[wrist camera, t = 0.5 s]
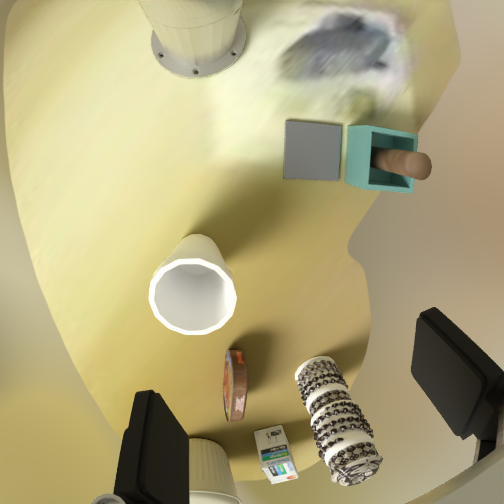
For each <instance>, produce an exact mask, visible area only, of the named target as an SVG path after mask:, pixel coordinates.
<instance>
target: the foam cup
mask: <svg viewBox="0 0 504 504" xmlns="http://www.w3.org/2000/svg"><path fill="white" fill-rule="evenodd" d="M236 300H237V295H236V289H235V285H234V281H233V277H232V273H231V271H230V270H229V269H228V268H227V266H226V264H225V262H224V260H223V257H222V255H221V253H220V251H219V249H218V247H217V245H216V244H215V243H214V242H213V240H212V239H211V238H209V237H207V236H205V235H202V234H191V235H189V236H187V237H185V238H183V239H182V240H181V241H180V242H179V244H178V245H177V246H176V247H175V249H174V250H173V251H172V252H171V254H170V255H169V256H168V257H167V258H165V259H164V260H163V261H162V263H161V264H160V266H159V267H158V268H157V270H156V271H155V273H154V275H153V277H152V280H151V282H150V290H149V303H150V305H151V307H152V310H153V312H154V315H155V317H156V318H158V319H159V320H160V321H161V322H162V323H163V324H164V325H165V326H166V327H167V328H169V329H171V330H174V331H177V332H179V333H182V334H185V335H205V334H207V333H209V332H212V331H214V330H216V329H219V328H221V327H222V326H223V325H224V324H225V323H226V322H227V320H228V319H229V318H230V317H231V316H232V315H233V312H234V308H235V304H236Z"/></svg>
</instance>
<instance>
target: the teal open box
mask: <svg viewBox="0 0 504 504" xmlns="http://www.w3.org/2000/svg"><path fill="white" fill-rule="evenodd" d="M417 144H418V135H416V134H412V133H407V132H402V131H397V130H392V129H387V128H381V127H375V126H369V125H358V126H348V135H347V154H346V170H345V183H348V184H350V185H353V186H356V187H358V188H361V189H366V190H380V191H393V192H404V193H413V189H414V180H415V179H414V178H411V177H407V176H403V175H400V174H396V173H392V172H388V171H384V170H380V169H376V168H372V167H370V154H371V147H382V148H390V149H398V150H406V151H413V152H417Z"/></svg>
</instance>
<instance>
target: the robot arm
mask: <svg viewBox="0 0 504 504" xmlns="http://www.w3.org/2000/svg"><path fill="white" fill-rule="evenodd" d="M137 1H138V3H139V4H140V6H141V8H142V10H143V12H144V13H145V15H146V17H147V19H148V21H149V22H150V24H151V26H152V28H153V31H152V36H151V47H152V51H153V54H154V56H155V58H156V60H157V61H158V62H159V64H160V65H161V66H162V67H164V68H165V69H166V70H167V71H169V72H171V73H172V74H175V75H177V76H180V77H185V78H205V77H210V76H213V75H216V74H218V73H220V72H222V71H224V70H226V69H227V68H228V67H230V66H231V65H232V64H233V63H234V62H235V61H236V60H237V59H238V57H239V56H240V54H241V53H242V50H243V48H244V45H245V41H246V29H245V25H244V22H243V20H242V18H241V17H240V11H241V7H242V3H243V0H137ZM232 53H235V56H232ZM161 55H163V57H162V58H160V56H161ZM196 71H197V72H198V74H194V73H195V72H196ZM411 373H412V375H413V377H414V379H415V380H416V381H417V382H418V384H419V385H420V387H421V388H422V389H423V391H424V392H425V393H426V395H427V396H428V398H429V399H430V400H431V402H432V403H433V404H434V406H435V407H436V409H437V410H438V411H439V413H440V414H441V415H442V417H443V418H444V420H445V421H446V423H447V424H448V426H449V427H450V428H451V430H452V431H453V433H454V434H455V435H456V436H460V437H461V438H462V440H464V439H466V438H467V437H469V436H470V435H472V434H474V435H475V436H476V438H477V443H476V449H475V456H474V461H473V466H471V467H469V468H468V469H466V470H465V471H463V472H462V473H460V474H459V475H457V476H455V477H454V478H452V479H450V480H449V481H447V482H445V483H444V484H442V485H440V486H439V487H437V488H435V489H433V490H431V491H430V492H428V493H426V494H424V495H422V496H420V497H418V498H416V499H414V500H412V501H410V502H408V503H406V504H504V371H503V370H502V369H501V368H500V367H499V366H498V365H497V364H496V363H495V362H494V361H493V360H492V359H491V358H490V357H489V356H488V355H487V354H486V353H485V352H484V351H483V350H482V349H481V348H479V346H478V345H477V344H475V343H474V342H473V341H472V340H471V339H470V338H469V337H468V336H467V335H466V334H465V333H464V332H463V331H462V330H460V329H459V328H458V327H457V326H456V325H455V324H454V323H453V322H452V321H451V320H450V319H448V318H447V317H446V316H445V315H444V314H443V313H442V312H441V311H440V310H439V309H437V308H436V307H432V308H430V309H428V310H426V311H423V312H421V313H420V316H419V318H418V319H417V322H416V332H415V342H414V350H413V357H412V365H411ZM92 504H190V492H189V438H188V435H187V433H186V432H185V431H184V429H183V428H182V426H181V425H180V423H179V422H178V421H177V419H176V418H175V416H174V415H173V413H172V412H171V410H170V409H169V407H168V406H167V404H166V403H165V401H164V400H163V398H162V397H161V395H160V394H159V393H155V392H154V391H153V390H146V391H139V392H136V394H135V398H134V402H133V407H132V412H131V416H130V421H129V426H128V428H127V429H126V430H125V432H124V435H123V440H122V445H121V451H120V456H119V462H118V467H117V474H116V480H115V486H114V493H113V494H103V495H101V496H99V497H97V498H96V499H95V500H94V501H93V502H92Z"/></svg>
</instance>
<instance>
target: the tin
mask: <svg viewBox="0 0 504 504" xmlns="http://www.w3.org/2000/svg"><path fill="white" fill-rule="evenodd" d="M247 392H248V368H247V363H246V361H245V357H244V354H243V351H242V350H229V349H228V350H227V351H226V356H225V369H224V382H223V399H224V409H225V416H226V420H227V422H233V421H241V420H242V419H243V417H244V412H245V406H246V399H247Z"/></svg>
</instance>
